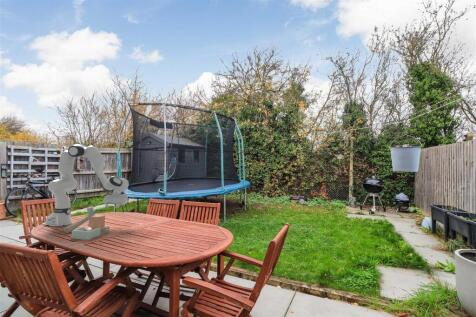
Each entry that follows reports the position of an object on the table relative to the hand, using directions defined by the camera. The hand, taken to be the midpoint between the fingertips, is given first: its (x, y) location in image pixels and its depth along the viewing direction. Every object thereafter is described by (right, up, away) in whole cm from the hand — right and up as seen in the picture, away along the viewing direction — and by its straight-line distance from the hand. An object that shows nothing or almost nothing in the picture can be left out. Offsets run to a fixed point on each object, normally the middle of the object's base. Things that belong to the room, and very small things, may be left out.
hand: (110, 207), depth 243 cm
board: (-3, -16, -18) cm, 25 cm away
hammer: (-22, -16, -7) cm, 28 cm away
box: (-5, -17, -30) cm, 34 cm away
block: (-3, -12, -16) cm, 21 cm away
